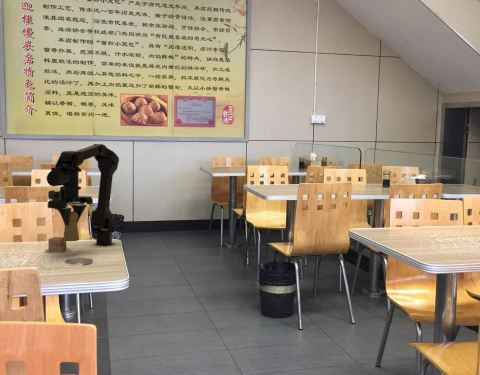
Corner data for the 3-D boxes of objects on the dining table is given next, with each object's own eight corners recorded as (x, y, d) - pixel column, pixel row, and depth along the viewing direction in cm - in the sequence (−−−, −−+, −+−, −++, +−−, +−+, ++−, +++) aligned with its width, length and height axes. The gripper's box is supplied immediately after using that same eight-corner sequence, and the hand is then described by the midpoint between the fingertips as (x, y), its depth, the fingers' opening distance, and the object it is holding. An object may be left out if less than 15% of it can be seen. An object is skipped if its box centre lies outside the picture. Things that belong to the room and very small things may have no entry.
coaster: (57, 248, 220) (57, 246, 220) (76, 251, 216) (76, 249, 216) (38, 252, 211) (38, 251, 211) (58, 255, 207) (57, 254, 207)
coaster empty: (77, 258, 204) (77, 256, 204) (98, 261, 200) (98, 259, 200) (58, 263, 195) (58, 262, 195) (80, 267, 191) (80, 265, 191)
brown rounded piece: (74, 241, 202) (74, 213, 201) (59, 240, 203) (59, 212, 202) (82, 238, 208) (82, 211, 207) (68, 237, 209) (67, 210, 208)
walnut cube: (55, 248, 216) (54, 236, 216) (66, 249, 215) (66, 237, 215) (48, 251, 211) (48, 239, 211) (60, 252, 210) (60, 239, 210)
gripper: (71, 181, 215) (72, 219, 217) (36, 184, 198) (36, 226, 200) (93, 182, 211) (93, 221, 212) (59, 186, 194) (59, 228, 195)
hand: (71, 224), depth 205 cm, fingers closed on brown rounded piece, 5 cm apart
